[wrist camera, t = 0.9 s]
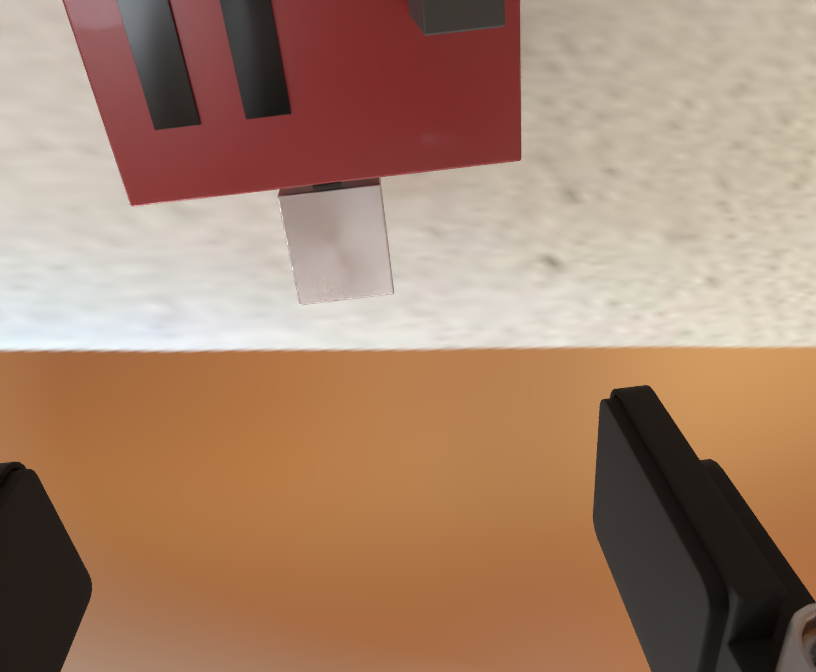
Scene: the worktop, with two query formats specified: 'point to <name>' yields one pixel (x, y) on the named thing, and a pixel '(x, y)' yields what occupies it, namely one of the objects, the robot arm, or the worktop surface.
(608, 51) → the worktop surface
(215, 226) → the worktop surface
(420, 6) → the slider
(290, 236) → the brushed metal plate
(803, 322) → the worktop surface
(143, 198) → the toaster
